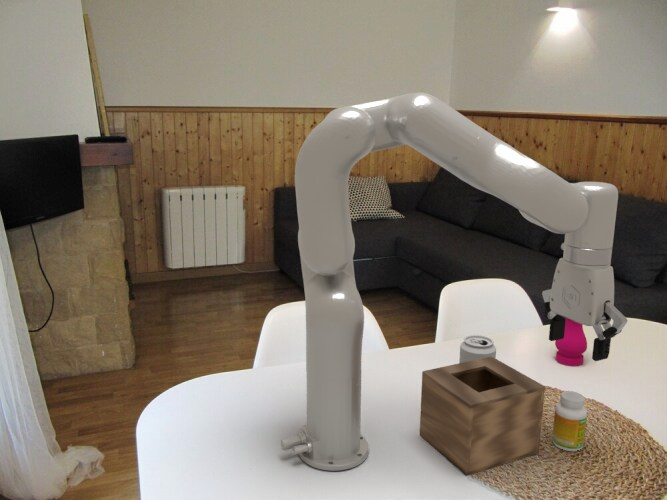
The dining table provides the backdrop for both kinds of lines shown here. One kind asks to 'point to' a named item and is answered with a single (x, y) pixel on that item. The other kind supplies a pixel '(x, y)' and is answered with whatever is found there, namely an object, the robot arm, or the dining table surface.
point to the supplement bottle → (570, 422)
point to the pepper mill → (571, 344)
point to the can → (476, 348)
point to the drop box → (481, 413)
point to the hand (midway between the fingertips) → (577, 349)
